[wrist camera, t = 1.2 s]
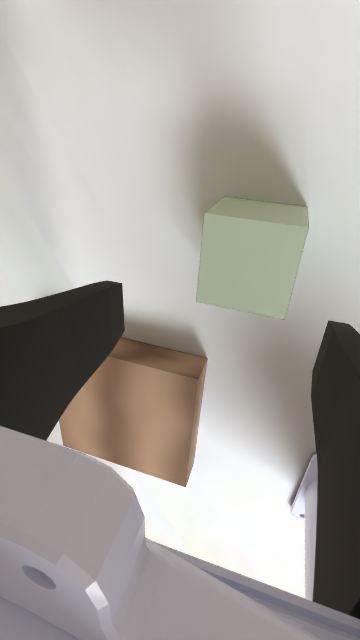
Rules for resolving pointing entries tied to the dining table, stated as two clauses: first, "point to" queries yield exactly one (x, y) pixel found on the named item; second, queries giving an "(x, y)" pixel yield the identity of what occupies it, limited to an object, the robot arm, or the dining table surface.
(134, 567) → the robot arm
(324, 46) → the dining table surface
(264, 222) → the sage cube
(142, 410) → the light brown block
